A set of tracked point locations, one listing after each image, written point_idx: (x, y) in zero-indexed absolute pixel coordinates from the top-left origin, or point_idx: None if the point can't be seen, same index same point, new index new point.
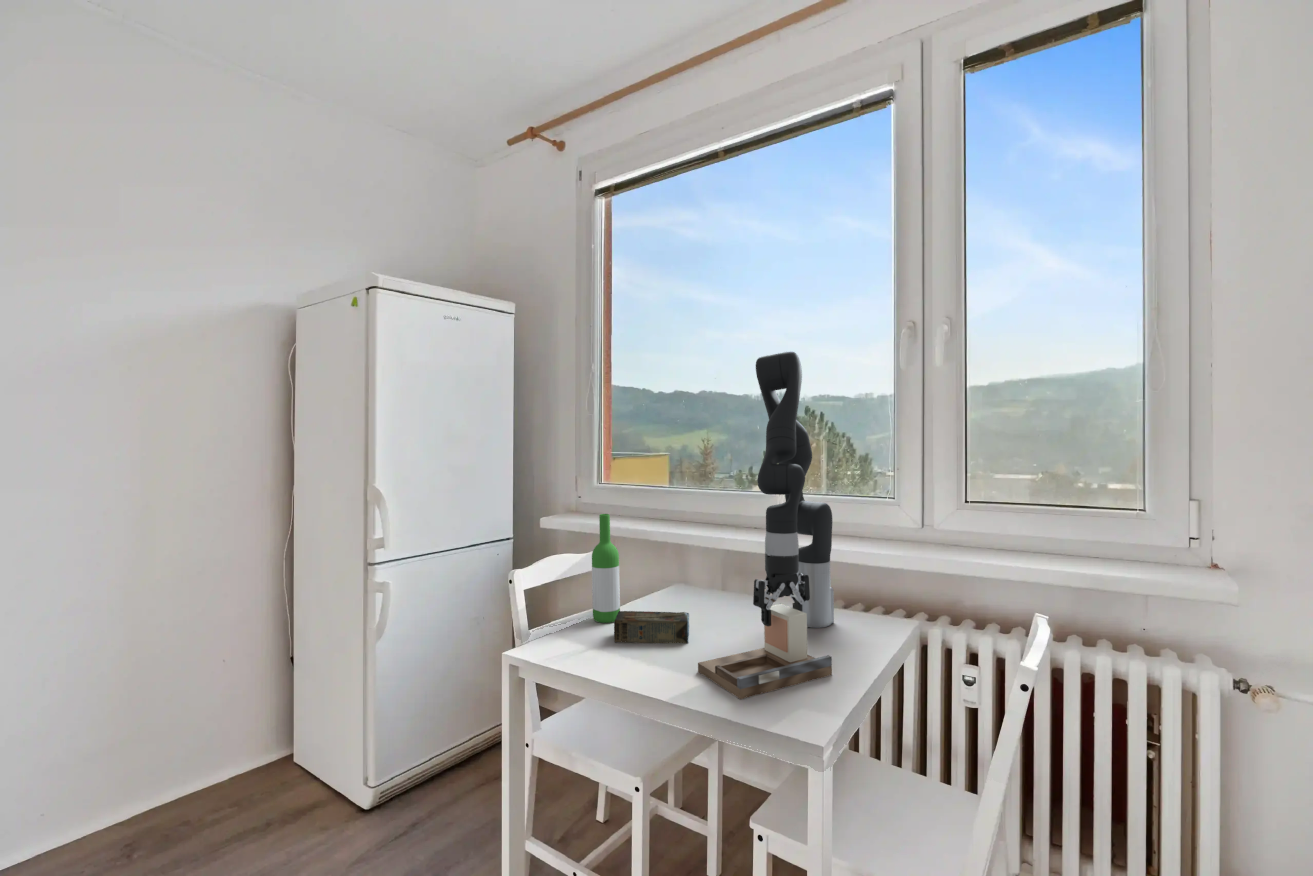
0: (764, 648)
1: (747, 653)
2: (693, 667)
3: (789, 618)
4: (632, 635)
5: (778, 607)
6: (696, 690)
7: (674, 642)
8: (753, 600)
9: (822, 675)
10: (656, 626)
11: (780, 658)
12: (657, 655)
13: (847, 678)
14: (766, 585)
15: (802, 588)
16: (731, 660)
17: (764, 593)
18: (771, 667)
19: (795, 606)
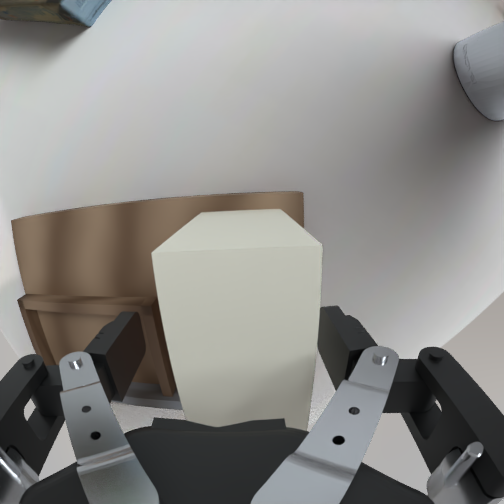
0: (200, 213)
1: (131, 217)
2: (25, 186)
3: None
4: (8, 17)
5: (242, 317)
6: (10, 296)
7: (66, 23)
8: (10, 373)
9: None
10: (19, 11)
11: None
12: (8, 92)
13: None
14: (45, 485)
15: (434, 439)
16: (71, 246)
17: (42, 466)
18: (146, 339)
19: (341, 364)
